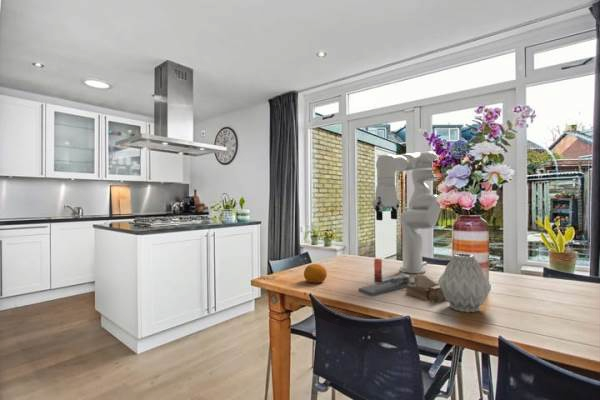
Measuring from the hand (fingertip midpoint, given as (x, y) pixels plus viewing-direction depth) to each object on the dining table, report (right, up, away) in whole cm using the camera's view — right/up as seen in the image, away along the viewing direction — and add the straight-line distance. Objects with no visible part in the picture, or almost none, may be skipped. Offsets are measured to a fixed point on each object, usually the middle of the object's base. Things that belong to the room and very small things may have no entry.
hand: (386, 219), depth 144 cm
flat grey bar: (-2, -28, -10) cm, 30 cm away
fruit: (-33, -29, +1) cm, 44 cm away
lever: (0, -26, -9) cm, 28 cm away
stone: (+11, -29, -19) cm, 36 cm away
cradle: (+12, -28, -20) cm, 37 cm away
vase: (+17, -29, -36) cm, 49 cm away
